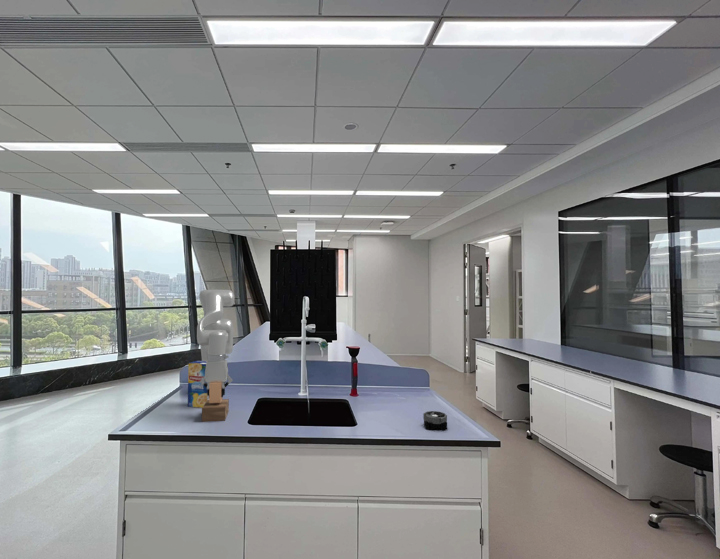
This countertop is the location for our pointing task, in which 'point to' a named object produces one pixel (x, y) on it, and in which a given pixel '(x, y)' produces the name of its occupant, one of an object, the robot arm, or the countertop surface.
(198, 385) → the blue tall cardboard box
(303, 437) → the countertop surface
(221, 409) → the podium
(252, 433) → the countertop surface
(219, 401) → the carton
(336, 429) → the countertop surface
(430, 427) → the cpu cooler
